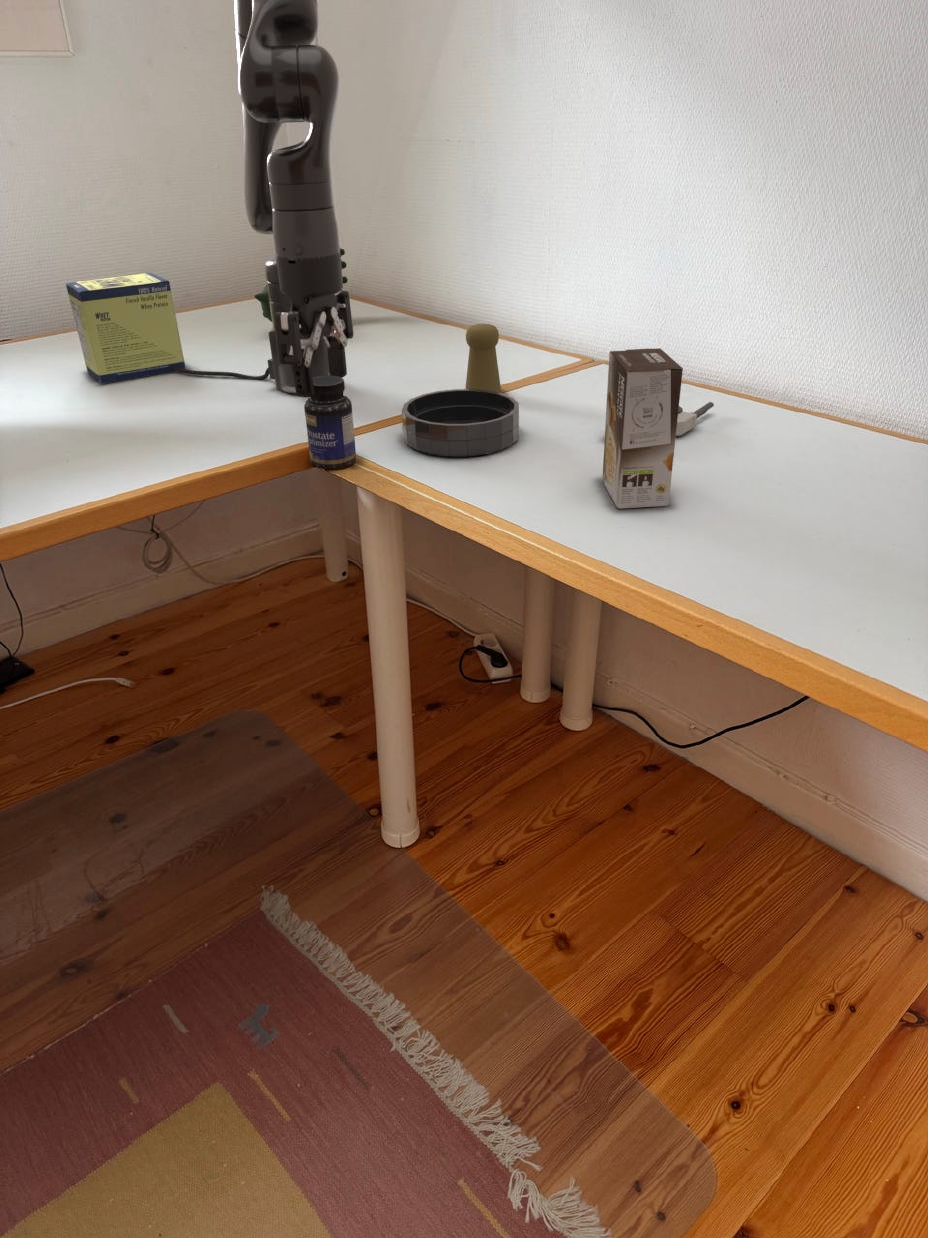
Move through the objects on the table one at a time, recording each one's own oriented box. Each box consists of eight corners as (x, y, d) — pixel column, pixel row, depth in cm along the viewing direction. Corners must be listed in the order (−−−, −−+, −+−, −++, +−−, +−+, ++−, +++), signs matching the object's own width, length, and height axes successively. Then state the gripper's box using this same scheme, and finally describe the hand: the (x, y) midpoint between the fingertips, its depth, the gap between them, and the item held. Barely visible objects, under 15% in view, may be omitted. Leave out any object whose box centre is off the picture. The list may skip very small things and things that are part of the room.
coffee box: (670, 506, 99) (685, 367, 91) (616, 510, 99) (626, 371, 90) (649, 477, 107) (661, 346, 99) (599, 479, 107) (607, 349, 98)
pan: (385, 451, 117) (382, 418, 115) (431, 415, 130) (429, 385, 128) (496, 464, 112) (496, 430, 110) (533, 425, 125) (533, 394, 122)
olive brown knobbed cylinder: (498, 401, 135) (498, 329, 129) (461, 399, 136) (459, 328, 130) (504, 389, 140) (504, 320, 134) (468, 388, 141) (466, 319, 135)
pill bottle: (302, 468, 113) (291, 385, 107) (324, 452, 118) (315, 371, 112) (344, 473, 111) (335, 388, 105) (364, 456, 116) (357, 375, 110)
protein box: (187, 369, 156) (170, 279, 148) (100, 385, 149) (77, 291, 141) (169, 357, 163) (152, 271, 155) (85, 372, 156) (62, 282, 148)
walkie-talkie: (657, 455, 113) (717, 414, 127) (660, 423, 111) (721, 385, 124) (599, 443, 118) (663, 404, 131) (600, 411, 116) (665, 376, 129)
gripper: (310, 238, 107) (324, 368, 116) (246, 258, 96) (267, 400, 105) (363, 241, 105) (373, 373, 113) (304, 261, 93) (320, 406, 102)
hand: (322, 385), depth 109 cm, fingers open, 8 cm apart
